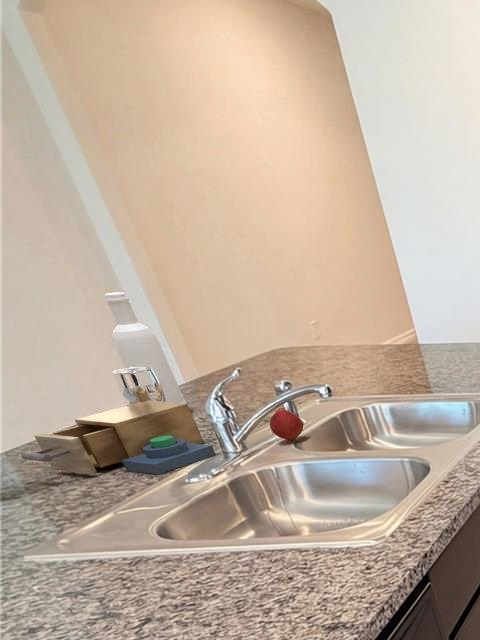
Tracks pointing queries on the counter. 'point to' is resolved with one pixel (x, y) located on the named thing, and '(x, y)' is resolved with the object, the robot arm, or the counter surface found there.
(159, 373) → the bottle
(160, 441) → the button
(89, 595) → the counter surface
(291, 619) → the counter surface
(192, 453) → the block
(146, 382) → the beer glass
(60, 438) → the drawer
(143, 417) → the cabinet
